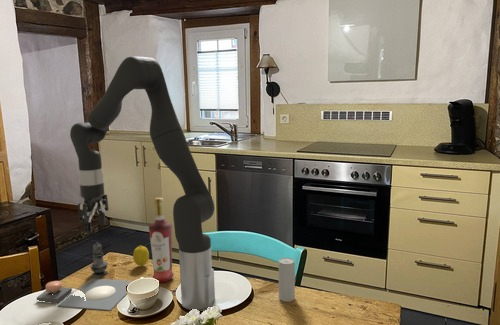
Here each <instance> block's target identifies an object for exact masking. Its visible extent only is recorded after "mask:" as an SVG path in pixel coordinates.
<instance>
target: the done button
mask: <svg viewBox="0 0 500 325" xmlns="http://www.w3.org/2000/svg"><path fill="white" fill-rule="evenodd" d="M62 287H63V285H62V281H61V280H54V281H53V280H52V281H49V282H47V283H46V284H45V291H47V292H51V294H54V295H55V294H56V293H58V290H60V289H61V288H62Z"/></svg>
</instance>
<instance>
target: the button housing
mask: <svg viewBox="0 0 500 325" xmlns="http://www.w3.org/2000/svg"><path fill="white" fill-rule="evenodd" d="M71 291H72V292H73V288H72V287H66V286H65V287H63V286H62V288H61V289H60V290H58V293H56V294H57V295H55V294H54V295H52V294H51V292H47V291H46V290H45V291H43V292H42V293H41V294H39V295H38V296H36V301H37V300H39V301H45V302H51V303H50V304H56V303H57V304H58V305H59V304H60V303H61V302H63V301H64V300H65V299H66V298H67V297H68V296H69V295H70V294H69V293H70V292H71ZM68 294H69V295H68ZM67 295H68V296H67ZM66 296H67V297H66ZM65 297H66V298H65ZM60 301H61V302H60Z"/></svg>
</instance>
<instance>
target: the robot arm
mask: <svg viewBox="0 0 500 325" xmlns="http://www.w3.org/2000/svg"><path fill="white" fill-rule="evenodd" d="M133 90H144V91H145V92H146V94H147V98H148V100H149V103H150V106H151V116H150V122H149V137H150V140H151V142H152V144H153V148H154V149H155V152H156V154H157V156H158V157H159V159H160V161H161V162H162V163H163V164H164V165H165V166H166V167H167V168H168V169H169V170H170V171H171V172H172V173H173V174H174V176H176V177H177V179H178V181H179V182H180V183H179V184H180V185H181V187H182V189H183V191H184V192H183V193H184V195H182V196H180V197H178V198H177V199H176V200H175V202H174V204H173V208H172V209H173V210H172V215H173V227H174V237H175V239H176V241H177V244H178V253H179V254H178V255H179V259H178V261H179V274H180V275H179V277H180V294H181V297H180V299H181V300H180V301H181V306H182V307H183V308H185V309H186V310H189V311H192V310H191V309H197V310H196V311H199V310H204V309H209V308H208V307H210V306H211V307H212V305H213V303H214V301H215V300H216V294H215V292H216V291H215V289H216V288H215V270H214V269H215V268H212V267H213V266H212V265H213V264H212V240H211V236H209V234H207V233H203V228H202V223H205V222H206V221H208V220H210V219H211V218H212V217H213V215H214V213H215V203H214V199H213V197H212V195H211V193H210V190H209V189H208V187H207V185H206V183H205V181H204V180H203V177H202V175H201V173H200V172H199V169H198V165H197V163H196V161H195V159H194V157H193V155H192V152H191V149H190V146H189V143H188V141H187V137H186V136H185V134H184V131H183V128H182V126H181V124H180V121H179V119H178V116H177V114H176V111H175V107H174V106H173V103H172V99H171V96H170V93H169V89H168V86H167V82H166V78H165V74H164V72H163V69H162V67H161V65H160V63H159V62H158V61H157V60H156V59H155V58H153V57H150V56H149V57H147V56H138V55H137V56H135V55H133V56H132V55H131V56H128V57H126V58H124V59H123V60H122V61H121V63H120V64H119V66H118V68H117V70H116V71H115V74H114V76H113V77H112V79H111V82H110V83H109V85H108V87H107V88H106V90H105V92H104V94H103V95H102V97H101V98H100V100H99V101H98V102H97V104H95V106H94V107H93V108H92V109H91V110H90V112H89V114H88V115H87V116H88V117H87V120H88V122H87V121H86V122H79V123H74V124H73V125H72V126H71V128H70V131H69V132H70V133H69V137H70V140H71V143H72V145H73V147H74V150H75V153H76V156H77V159H78V160H77V161H78V162H77V163H78V181H79V191H80V197H81V198H82V199H83V200H84V201H83V202H82V203H78V205H77V211H78V214H77V215H78V222H80V223H83V231H84V233H85V234H91V233H92V232H93V228H92V218H93V216H94V215H95V213H96V212H97V219H98V225H100V226H104V225H106V214H107V211H109V202H108V195H107V194H106V193H105V183H104V182H105V181H104V174H103V168H102V155H101V153H100V152H99V151H97V150H92V149H90V146H89V145H90V144H92V145H93V144H97V143H101V141H103V140H104V139H105V137H106V135H107V133H108V130H109V128H110V126H111V124H112V123H113V122H114V121H115V120H116V119H117V118H118V117H119V115H120V114H121V112H122V105H123V100H124V99H125V97H126V96H127V95H128V94H130V92H132V91H133ZM211 307H210V308H211Z"/></svg>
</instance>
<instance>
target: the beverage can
mask: <svg viewBox="0 0 500 325" xmlns="http://www.w3.org/2000/svg"><path fill="white" fill-rule="evenodd" d="M295 266H296V262H295V259H293V258H291V257H282V258H279V259H278V299H279V300H280V301H282V302H284V303H290V302H293V301H294V299H295V297H296V295H295V293H296V292H295V291H296V288H295V287H296V286H295V285H296V284H295V283H296V278H295V277H296V267H295Z"/></svg>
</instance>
